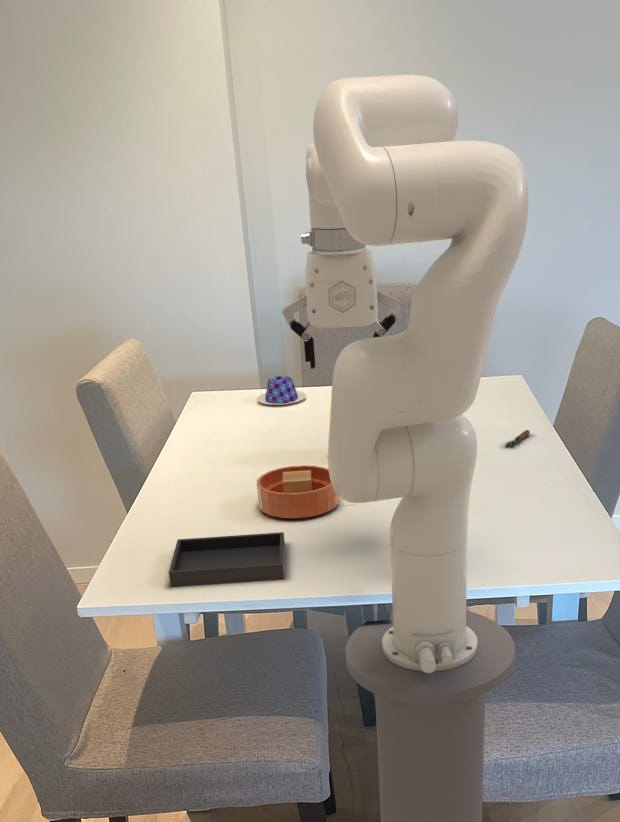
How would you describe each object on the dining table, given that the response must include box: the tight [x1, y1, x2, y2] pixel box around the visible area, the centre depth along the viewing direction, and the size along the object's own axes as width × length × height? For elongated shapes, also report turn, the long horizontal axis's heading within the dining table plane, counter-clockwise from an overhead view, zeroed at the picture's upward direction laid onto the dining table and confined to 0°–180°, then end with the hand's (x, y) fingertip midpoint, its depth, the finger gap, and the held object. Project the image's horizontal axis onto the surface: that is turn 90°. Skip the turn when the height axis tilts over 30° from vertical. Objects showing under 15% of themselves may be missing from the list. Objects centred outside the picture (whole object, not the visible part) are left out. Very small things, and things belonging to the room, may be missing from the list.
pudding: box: [256, 375, 307, 406], centre depth 224 cm, size 12×12×5 cm
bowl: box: [256, 464, 340, 519], centre depth 165 cm, size 14×14×5 cm
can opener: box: [505, 429, 531, 447], centre depth 189 cm, size 9×2×1 cm, turn 140°
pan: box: [168, 531, 286, 587], centre depth 145 cm, size 12×17×2 cm
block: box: [282, 470, 312, 493], centre depth 164 cm, size 5×5×5 cm
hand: (345, 364), depth 138 cm, fingers open, 9 cm apart
